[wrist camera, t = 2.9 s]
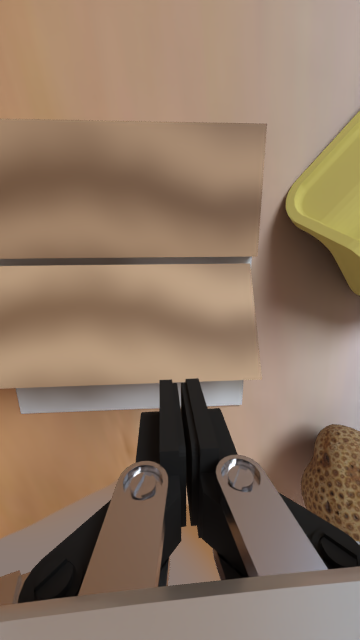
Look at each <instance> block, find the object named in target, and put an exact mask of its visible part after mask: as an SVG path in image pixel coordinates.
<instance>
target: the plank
mask: <svg viewBox="0 0 360 640" xmlns="http://www.w3.org/2000/svg"><path fill="white" fill-rule="evenodd" d="M193 378H198V379H199V382H204V381H232V380H261V379H262V376H261V366H260V356H259V346H258V336H257V326H256V316H255V307H254V297H253V287H252V277H251V267H250V263H240V264H146V265H52V266H0V389H5V388H33V387H62V386H90V385H119V384H147V383H159V380H171V379H172V383H175V382H185V380H186V379H193Z"/></svg>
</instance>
